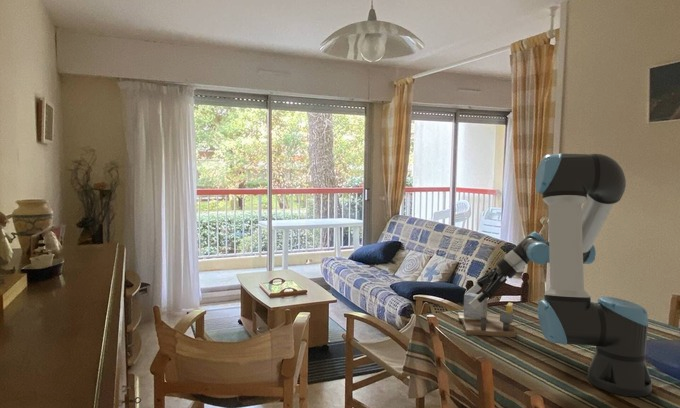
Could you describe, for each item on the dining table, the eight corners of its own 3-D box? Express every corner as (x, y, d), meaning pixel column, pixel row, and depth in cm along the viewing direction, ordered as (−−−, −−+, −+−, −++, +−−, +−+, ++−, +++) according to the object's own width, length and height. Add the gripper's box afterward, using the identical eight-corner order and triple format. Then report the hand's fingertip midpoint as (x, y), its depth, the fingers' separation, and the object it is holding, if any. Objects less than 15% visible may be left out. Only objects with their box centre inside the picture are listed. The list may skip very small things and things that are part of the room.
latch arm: (511, 331, 158) (512, 312, 158) (498, 329, 160) (499, 310, 160) (516, 321, 169) (516, 303, 168) (503, 319, 171) (504, 301, 171)
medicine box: (487, 317, 174) (488, 296, 174) (482, 320, 171) (483, 298, 170) (468, 313, 179) (468, 292, 179) (463, 316, 176) (463, 294, 175)
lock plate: (515, 337, 159) (516, 320, 159) (463, 334, 162) (463, 317, 161) (503, 318, 179) (504, 304, 178) (457, 316, 181) (457, 301, 181)
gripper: (526, 279, 159) (481, 318, 163) (510, 265, 184) (471, 299, 187) (511, 264, 160) (466, 303, 163) (497, 251, 184) (458, 286, 188)
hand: (469, 301), depth 175 cm, fingers open, 13 cm apart
